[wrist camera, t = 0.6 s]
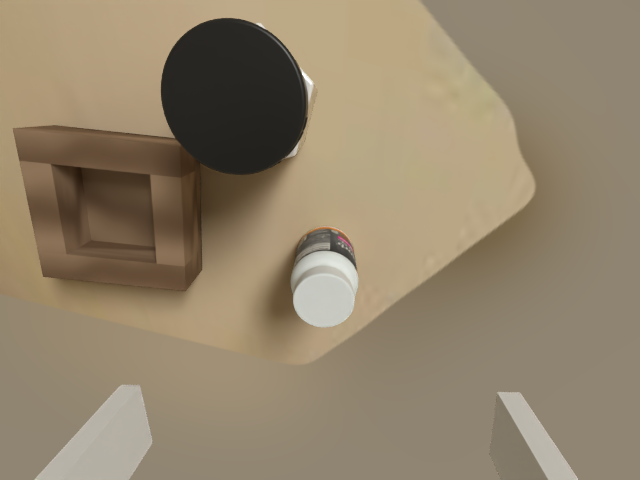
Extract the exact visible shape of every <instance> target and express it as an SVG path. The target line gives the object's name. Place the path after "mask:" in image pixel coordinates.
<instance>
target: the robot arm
mask: <svg viewBox="0 0 640 480" xmlns="http://www.w3.org/2000/svg"><path fill="white" fill-rule="evenodd" d="M151 444H152V437H151V433H150V429H149V424H148V419H147V415H146V410H145V406H144V401H143V397H142V392H141V388H140V385H120V386H119V387H118V389H117V390H116V391H115V392H114V393H113V394H112V395H111V396H110V397H109V398H108V400H107V401H106V402H105V403H104V404H103V405H102V406H101V407H100V408H99V409H98V410H97V412H96V413H95V414H94V415H93V416H92V417H91V418H90V419H89V420H88V422H87V423H86V424H85V425H84V426H83V427H82V428H81V429H80V430H79V432H77V434H76V435H75V436H74V437H73V438H72V439H71V440H70V441H69V442H68V443H67V444H66V446H65V447H64V448H63V449H62V450H61V451H60V452H59V453H58V454H57V455H56V457H55V458H54V459H53V460H52V461H51V462H50V463H49V464H48V465H47V466H46V468H45V469H44V470H43V471H42V472H41V473H40V474H39V475H38V476H37V477H36V479H35V480H129V479H130V477H131V475H132V474H133V472H134V471H135V469H136V468H137V466H138V465H139V463H140V461H141V460H142V458H143V457H144V455H145V454H146V452H147V450H148V449H149V447H150V446H151ZM489 454H490V456H491V459H492V461H493V463H494V465H495V467H496V470H497V472H498V474H499V476H500V479H501V480H578V478H577V477H576V475H575V474H574V472H573V471H572V469H571V468H570V466H569V465H568V463H567V462H566V460H565V459H564V457H563V456H562V454H561V453H560V451H559V450H558V449H557V447H556V445H555V444H554V443H553V441H552V440H551V438H550V437H549V435H548V434H547V432H546V431H545V429H544V428H543V426H542V425H541V423H540V422H539V420H538V419H537V417H536V416H535V414H534V413H533V411H532V410H531V408H530V407H529V405H528V404H527V402H526V401H525V399H524V398H523V396H522V395H521V393H517V392H514V393H512V392H497V398H496V405H495V414H494V422H493V429H492V437H491V445H490V453H489Z"/></svg>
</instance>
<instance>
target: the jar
mask: <svg viewBox="0 0 640 480" xmlns="http://www.w3.org/2000/svg"><path fill="white" fill-rule="evenodd" d="M316 96H317V88H316V86H315V85H314V83H313V81H312V80H311V79H310V78H309V77H308V76H307V75H306V73H305V72H304V71H303V70H302V69H301V68H300V67H299V65H298V64H297V62H296V60H295V59H294V57H293V56H292V54H291V53H290V52H289V50H288V49H287V48H286V46H285V45H284V44H283V43H282V42H281V41H280V40H279V39H278V38H277V37H276V36H274V35H273V34H272V33H270V32H269V31H268V30H266V28H265V27H264V26H263V25H262V24H261V23H255V24H254V23H252V22H249V21H245V20H241V19H235V18H220V19H214V20H210V21H206V22H204V23H201V24H199V25H197V26H195V27H193V28H192V29H191V30H189V31H188V32H187V33H185V34H184V35H183V36H182V37H181V38H180V39H179V40H178V41H177V43H176V44H175V45H174V47H173V48H172V50H171V52H170V53H169V56H168V58H167V60H166V63H165V66H164V69H163V73H162V80H161V100H162V106H163V110H164V114H165V117H166V120H167V123H168V125H169V127H170V129H171V131H172V133H173V135H174V136H175V138H176V139H177V141H178V142H179V143H180V145H181V146H182V147H183V148H184V149H185V150H186V151H187V152H188V153H189V154H190V155H191V156H192V157H193V158H195V159H196V160H197V161H199V162H200V163H202V164H203V165H205V166H207V167H209V168H211V169H214V170H216V171H219V172H222V173H227V174H234V175H247V174H253V173H257V172H261V171H264V170H266V169H268V168H271V167H273V166H275V165H276V164H278V163H280V162H281V161H282V159H286V158H289V157H293V156H295V155H296V154H297V152H298V151H299V149H300V148H301V146H302V144H303V143H304V141H305V138H306V134H307V130H308V126H309V122H310V119H311V115H312V111H313V107H314V103H315V99H316Z"/></svg>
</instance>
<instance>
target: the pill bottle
mask: <svg viewBox="0 0 640 480" xmlns="http://www.w3.org/2000/svg"><path fill="white" fill-rule="evenodd" d="M290 284H291V290H292V293H293V305H294V309H295V311H296V313H297V314H298V316H299V317H300V318H301V319H302V320H303V321H305V322H306V323H308V324H310V325H312V326H316V327H323V328H324V327H332V326H336V325H338V324H340V323H342V322H343V321H345V320H346V319H347V318H348V317H349V315H350V314H351V312H352V310H353V307H354V302H355V298H354V296H355V294H356V292H357V289H358V273H357V267H356V261H355V255H354V249H353V245H352V243H351V241H350V239H349V237H348V236H347V235H346V234H345V233H344V232H342V231H341V230H339V229H337V228H334V227H330V226H322V227H317V228H314V229H312V230H310V231H309V232H307V233H306V234H305V235H304V236H303V237H302V239H301V240H300V243H299V245H298V248H297V252H296V256H295V261H294V266H293V270H292V274H291V279H290Z"/></svg>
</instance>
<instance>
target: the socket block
mask: <svg viewBox="0 0 640 480" xmlns="http://www.w3.org/2000/svg"><path fill="white" fill-rule="evenodd" d="M13 132H14V137H15V142H16V147H17V151H18V156H19V161H20V166H21V171H22V176H23V181H24V186H25V190H26V195H27V200H28V205H29V210H30V215H31V220H32V225H33V229H34V234H35V239H36V244H37V249H38V254H39V259H40V264H41V268H42V273H43V277H51V278H61V279H71V280H81V281H91V282H101V283H111V284H121V285H131V286H141V287H151V288H161V289H171V290H181V291H186V290H187V289H188V287H189V286H190V285H191V283H192V282H193V281H194V279H195V278H196V277H197V276H198V274H199V273H200V272H201V270H202V241H201V193H200V162H199V161H197V160H196V159H195V158H193V157H192V156H191V155H190V154H189V153H188V152H187V151H186V150H185V149H184V148H183V147H182V146H181V145H180V143H179V142H178V141H177V139H176V138H167V137H158V136H149V135H139V134H130V133H121V132H111V131H102V130H93V129H84V128H74V127H65V126H56V125H54V126H39V127H25V128H13Z"/></svg>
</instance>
